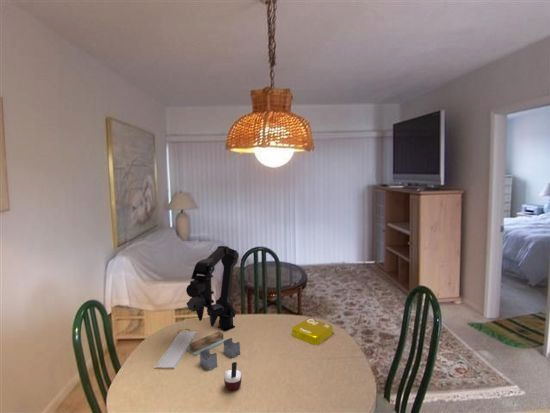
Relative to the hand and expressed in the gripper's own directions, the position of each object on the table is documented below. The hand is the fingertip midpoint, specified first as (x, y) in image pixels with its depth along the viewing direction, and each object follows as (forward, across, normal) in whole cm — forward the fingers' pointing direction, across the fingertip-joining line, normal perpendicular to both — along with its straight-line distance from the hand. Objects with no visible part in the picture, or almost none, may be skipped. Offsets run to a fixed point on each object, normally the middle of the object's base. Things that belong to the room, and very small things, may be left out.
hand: (206, 323), depth 152 cm
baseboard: (+12, -8, -11) cm, 18 cm away
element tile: (+11, +29, +40) cm, 51 cm away
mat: (+11, 0, 0) cm, 11 cm away
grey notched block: (+11, +14, -9) cm, 20 cm away
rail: (+10, 0, 0) cm, 10 cm away
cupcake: (+11, +32, -11) cm, 35 cm away
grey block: (+11, +14, +3) cm, 18 cm away
